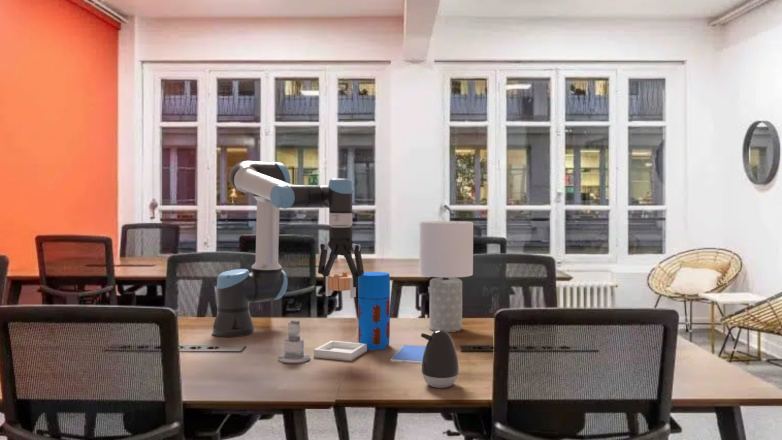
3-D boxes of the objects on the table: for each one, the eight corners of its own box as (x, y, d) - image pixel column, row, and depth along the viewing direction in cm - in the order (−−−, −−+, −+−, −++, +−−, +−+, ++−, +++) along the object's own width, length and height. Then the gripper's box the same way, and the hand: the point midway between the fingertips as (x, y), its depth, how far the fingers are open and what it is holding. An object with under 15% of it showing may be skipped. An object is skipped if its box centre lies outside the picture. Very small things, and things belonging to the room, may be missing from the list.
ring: (334, 286, 203) (334, 271, 202) (356, 287, 200) (356, 272, 200) (324, 289, 195) (324, 274, 195) (346, 291, 192) (346, 275, 192)
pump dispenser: (418, 380, 171) (418, 326, 170) (454, 379, 172) (455, 325, 171) (423, 391, 161) (423, 334, 160) (462, 390, 162) (462, 333, 161)
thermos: (394, 344, 212) (395, 272, 211) (381, 351, 202) (381, 276, 201) (366, 341, 217) (367, 271, 216) (352, 347, 207) (352, 274, 206)
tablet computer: (428, 366, 187) (429, 361, 187) (389, 363, 190) (389, 358, 190) (439, 350, 206) (439, 346, 206) (403, 348, 209) (403, 344, 209)
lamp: (481, 327, 240) (481, 222, 238) (457, 337, 223) (458, 223, 221) (434, 321, 251) (435, 220, 249) (409, 330, 234) (409, 222, 232)
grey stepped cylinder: (272, 361, 189) (271, 322, 189) (288, 354, 198) (288, 316, 198) (300, 365, 186) (300, 325, 185) (315, 357, 195) (315, 318, 194)
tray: (313, 357, 195) (313, 349, 195) (331, 347, 207) (331, 340, 207) (350, 361, 190) (350, 353, 190) (366, 351, 202) (366, 343, 202)
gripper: (306, 226, 197) (306, 296, 198) (365, 227, 190) (365, 300, 191) (317, 225, 204) (317, 292, 205) (374, 226, 197) (374, 296, 198)
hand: (340, 296), depth 198 cm, fingers closed on ring, 8 cm apart
